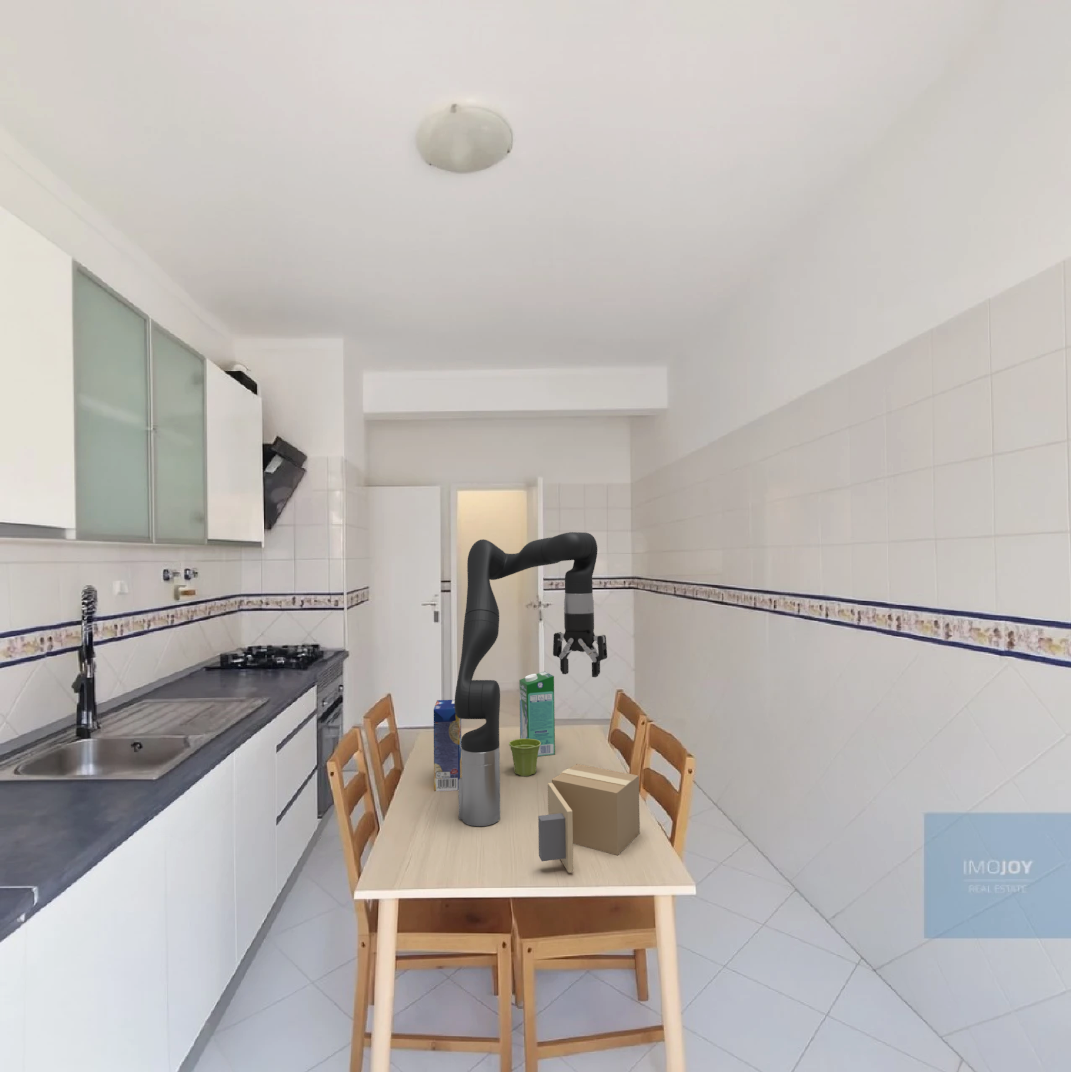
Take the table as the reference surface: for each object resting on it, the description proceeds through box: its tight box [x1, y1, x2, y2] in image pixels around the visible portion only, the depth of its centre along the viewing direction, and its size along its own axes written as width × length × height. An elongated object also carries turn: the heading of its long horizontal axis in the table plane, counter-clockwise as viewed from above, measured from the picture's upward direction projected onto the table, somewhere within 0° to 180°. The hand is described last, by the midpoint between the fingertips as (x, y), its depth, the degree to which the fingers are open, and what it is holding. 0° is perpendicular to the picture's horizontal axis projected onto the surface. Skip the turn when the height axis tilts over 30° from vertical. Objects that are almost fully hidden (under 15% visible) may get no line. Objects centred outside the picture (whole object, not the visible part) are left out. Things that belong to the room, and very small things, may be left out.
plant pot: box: [508, 738, 541, 777], centre depth 182 cm, size 9×9×9 cm
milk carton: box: [518, 670, 556, 757], centre depth 201 cm, size 9×9×25 cm
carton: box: [551, 763, 641, 856], centre depth 141 cm, size 16×12×13 cm
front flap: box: [537, 782, 574, 873], centre depth 131 cm, size 16×6×12 cm, turn 13°
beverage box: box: [433, 699, 462, 792], centre depth 174 cm, size 7×11×22 cm, turn 4°
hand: (579, 675), depth 157 cm, fingers open, 8 cm apart
